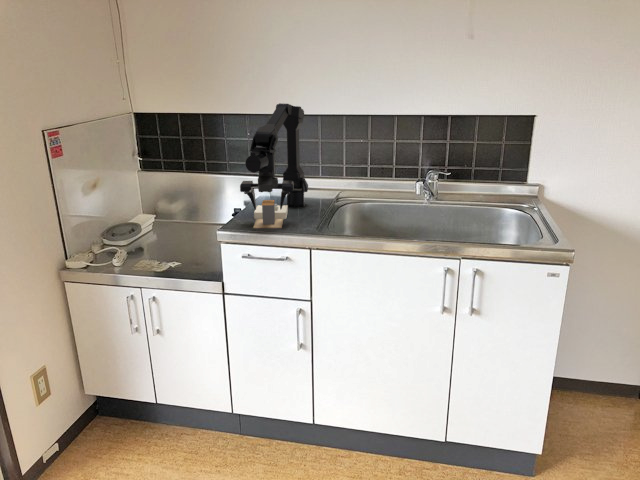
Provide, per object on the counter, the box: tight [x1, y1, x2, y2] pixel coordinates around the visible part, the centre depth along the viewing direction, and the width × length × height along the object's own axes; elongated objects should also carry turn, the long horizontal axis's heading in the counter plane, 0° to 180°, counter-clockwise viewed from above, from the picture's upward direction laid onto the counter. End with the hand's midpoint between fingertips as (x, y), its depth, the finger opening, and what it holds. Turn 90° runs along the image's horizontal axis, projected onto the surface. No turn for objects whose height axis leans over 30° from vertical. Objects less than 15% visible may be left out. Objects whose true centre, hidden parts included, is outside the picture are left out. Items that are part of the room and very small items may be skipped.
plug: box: [261, 199, 275, 225], centre depth 195 cm, size 4×4×8 cm
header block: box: [253, 203, 289, 220], centre depth 206 cm, size 12×10×3 cm
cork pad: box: [252, 219, 284, 229], centre depth 196 cm, size 10×10×1 cm
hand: (268, 209), depth 194 cm, fingers open, 9 cm apart
